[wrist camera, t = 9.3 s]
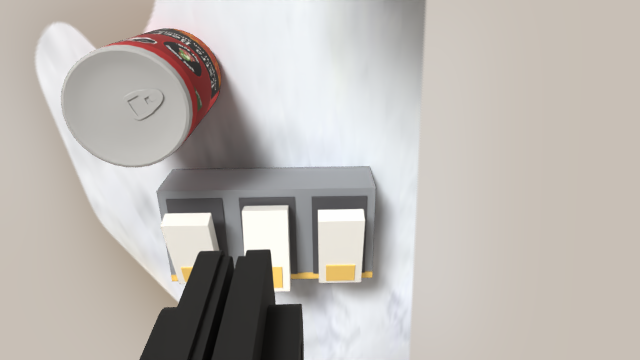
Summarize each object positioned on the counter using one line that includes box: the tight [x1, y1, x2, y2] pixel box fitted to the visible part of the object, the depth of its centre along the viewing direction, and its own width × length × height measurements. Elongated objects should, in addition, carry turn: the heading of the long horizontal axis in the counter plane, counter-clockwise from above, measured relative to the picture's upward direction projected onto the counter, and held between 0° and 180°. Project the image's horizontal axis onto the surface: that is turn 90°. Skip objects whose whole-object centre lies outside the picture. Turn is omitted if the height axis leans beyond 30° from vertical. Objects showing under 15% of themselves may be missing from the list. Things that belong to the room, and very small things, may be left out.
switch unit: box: [156, 166, 376, 281], centre depth 41 cm, size 9×18×5 cm, turn 91°
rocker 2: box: [242, 205, 291, 292], centre depth 37 cm, size 7×4×2 cm, turn 1°
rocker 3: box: [318, 209, 365, 283], centre depth 37 cm, size 7×4×2 cm, turn 1°
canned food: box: [61, 29, 221, 167], centre depth 32 cm, size 8×8×11 cm
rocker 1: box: [160, 213, 219, 284], centre depth 37 cm, size 7×4×2 cm, turn 1°
